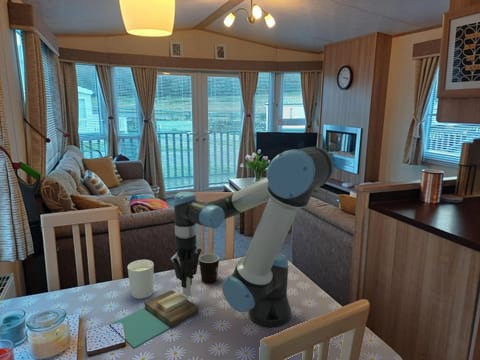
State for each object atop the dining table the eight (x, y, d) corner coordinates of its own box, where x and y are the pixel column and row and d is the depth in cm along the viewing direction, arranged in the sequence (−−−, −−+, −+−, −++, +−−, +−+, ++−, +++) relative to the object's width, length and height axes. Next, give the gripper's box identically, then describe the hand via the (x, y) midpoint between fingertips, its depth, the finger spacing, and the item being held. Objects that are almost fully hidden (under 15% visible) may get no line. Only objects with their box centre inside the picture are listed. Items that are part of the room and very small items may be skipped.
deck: (198, 312, 121) (198, 306, 120) (170, 327, 112) (170, 321, 112) (171, 295, 132) (171, 289, 131) (144, 308, 123) (144, 302, 123)
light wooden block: (187, 302, 123) (187, 298, 123) (166, 312, 117) (166, 308, 116) (177, 295, 127) (177, 292, 127) (156, 305, 121) (156, 301, 120)
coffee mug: (209, 287, 138) (209, 264, 136) (194, 280, 143) (194, 258, 141) (227, 276, 147) (227, 255, 145) (213, 270, 152) (212, 249, 150)
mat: (169, 328, 112) (169, 327, 112) (134, 348, 103) (134, 347, 103) (143, 309, 123) (143, 308, 123) (109, 325, 113) (109, 324, 113)
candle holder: (141, 302, 127) (139, 273, 124) (123, 295, 132) (121, 266, 129) (160, 291, 135) (159, 263, 132) (143, 284, 140) (141, 257, 137)
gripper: (193, 227, 129) (194, 284, 134) (164, 236, 120) (166, 296, 124) (206, 232, 124) (206, 291, 129) (177, 242, 115) (178, 305, 119)
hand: (186, 293), depth 127 cm, fingers closed
